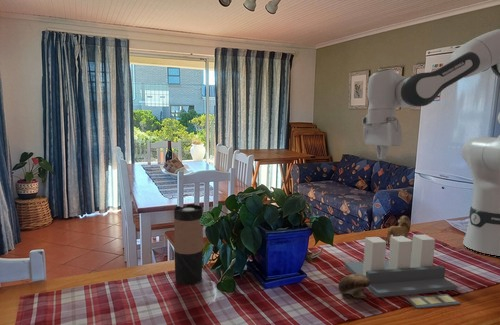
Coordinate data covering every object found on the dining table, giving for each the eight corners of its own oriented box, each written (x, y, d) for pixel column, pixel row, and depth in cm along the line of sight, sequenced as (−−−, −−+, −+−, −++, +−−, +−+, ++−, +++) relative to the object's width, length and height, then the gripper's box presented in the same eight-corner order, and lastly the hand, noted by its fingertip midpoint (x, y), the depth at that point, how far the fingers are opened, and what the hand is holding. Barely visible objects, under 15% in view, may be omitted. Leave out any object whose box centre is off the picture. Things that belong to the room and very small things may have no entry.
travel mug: (197, 287, 90) (197, 212, 87) (169, 283, 91) (168, 210, 88) (206, 274, 97) (206, 205, 94) (181, 271, 98) (180, 203, 96)
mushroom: (378, 294, 81) (366, 268, 84) (346, 305, 82) (335, 279, 85) (373, 294, 89) (363, 270, 91) (344, 304, 89) (334, 280, 92)
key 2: (422, 267, 101) (425, 234, 100) (431, 273, 97) (435, 239, 96) (410, 267, 100) (413, 234, 99) (419, 274, 96) (422, 239, 95)
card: (446, 295, 88) (447, 293, 88) (460, 304, 84) (460, 302, 84) (405, 298, 86) (405, 297, 86) (416, 308, 82) (417, 307, 82)
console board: (412, 261, 108) (413, 249, 108) (456, 290, 91) (458, 275, 90) (344, 266, 104) (345, 253, 103) (377, 297, 86) (378, 281, 86)
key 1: (375, 270, 98) (378, 236, 97) (383, 276, 94) (386, 241, 93) (362, 271, 97) (365, 237, 96) (370, 277, 93) (372, 242, 92)
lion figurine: (397, 236, 132) (399, 213, 131) (412, 239, 128) (414, 216, 127) (381, 245, 122) (382, 221, 121) (396, 250, 118) (398, 224, 117)
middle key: (400, 269, 99) (403, 236, 98) (409, 275, 95) (412, 241, 94) (387, 270, 98) (390, 236, 97) (396, 276, 94) (399, 241, 93)
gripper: (407, 116, 107) (407, 160, 108) (376, 119, 127) (376, 156, 129) (388, 117, 107) (388, 161, 108) (360, 119, 127) (360, 157, 128)
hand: (381, 158), depth 118 cm, fingers closed
